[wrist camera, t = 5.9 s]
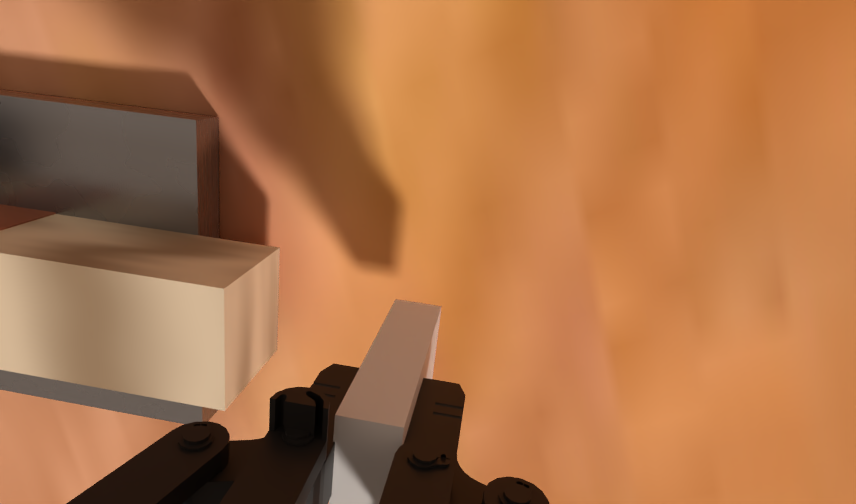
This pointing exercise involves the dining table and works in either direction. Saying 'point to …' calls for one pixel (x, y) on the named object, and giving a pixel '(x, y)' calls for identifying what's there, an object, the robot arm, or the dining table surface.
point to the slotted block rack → (109, 195)
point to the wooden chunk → (135, 307)
